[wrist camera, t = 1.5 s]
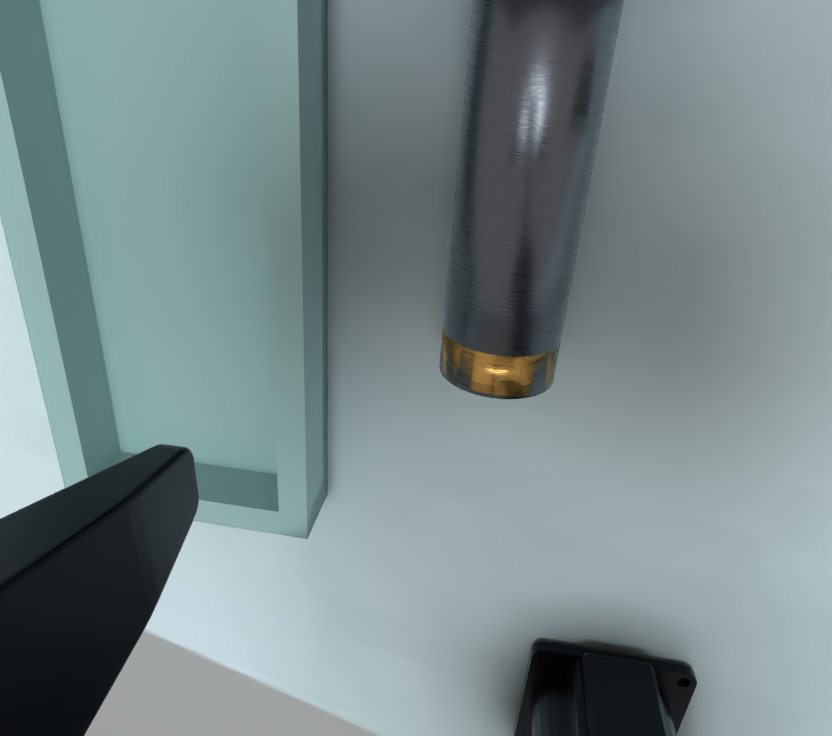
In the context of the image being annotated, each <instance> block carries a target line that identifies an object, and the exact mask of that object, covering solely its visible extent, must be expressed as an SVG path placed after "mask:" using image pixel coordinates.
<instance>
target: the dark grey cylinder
mask: <svg viewBox="0 0 832 736" xmlns="http://www.w3.org/2000/svg"><path fill="white" fill-rule="evenodd" d="M623 1H624V0H473V6H472V17H471V28H470V39H469V50H468V61H467V72H466V83H465V93H464V104H463V115H462V126H461V137H460V148H459V159H458V170H457V181H456V192H455V203H454V214H453V225H452V236H451V247H450V258H449V269H448V280H447V291H446V302H445V313H444V323H443V334H442V345H441V356H440V371H441V373H442V375H443V376H444V377H445V379H446V380H448V381H449V382H450V383H451V384H453V385H455V386H456V387H458V388H460V389H462V390H465V391H467V392H470V393H473V394H476V395H480V396H485V397H490V398H498V399H520V398H527V397H532V396H536V395H538V394H541V393H543V392H545V391H546V390H547V389H549V387H550V386H551V385H552V383H553V378H554V372H555V367H556V361H557V356H558V351H559V345H560V340H561V335H562V329H563V324H564V318H565V313H566V308H567V302H568V297H569V291H570V286H571V281H572V275H573V270H574V265H575V259H576V254H577V248H578V243H579V238H580V232H581V227H582V222H583V216H584V211H585V205H586V200H587V195H588V189H589V184H590V178H591V173H592V168H593V162H594V157H595V152H596V146H597V141H598V135H599V130H600V125H601V119H602V114H603V108H604V103H605V98H606V92H607V87H608V82H609V76H610V71H611V65H612V60H613V55H614V49H615V44H616V38H617V33H618V28H619V22H620V17H621V12H622V6H623Z"/></svg>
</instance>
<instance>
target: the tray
mask: <svg viewBox="0 0 832 736" xmlns="http://www.w3.org/2000/svg"><path fill="white" fill-rule="evenodd" d="M0 216H1V221H2V225H3V229H4V233H5V238H6V242H7V246H8V250H9V254H10V259H11V263H12V267H13V271H14V275H15V280H16V284H17V288H18V292H19V297H20V301H21V305H22V309H23V313H24V318H25V322H26V326H27V330H28V334H29V339H30V343H31V347H32V351H33V356H34V360H35V364H36V368H37V372H38V377H39V381H40V385H41V389H42V393H43V398H44V402H45V406H46V410H47V415H48V419H49V423H50V427H51V431H52V436H53V440H54V444H55V448H56V452H57V457H58V461H59V465H60V469H61V474H62V478H63V482H64V486H65V488H67V487H69V486H71V485H73V484H75V483H77V482H79V481H81V480H83V479H86V478H88V477H90V476H92V475H94V474H96V473H98V472H100V471H103V470H105V469H107V468H109V467H111V466H113V465H115V464H117V463H119V462H122V461H124V460H126V459H128V458H130V457H132V456H134V455H136V454H138V453H141V452H143V451H145V450H147V449H149V448H151V447H153V446H156V445H158V444H167V445H174V446H181V447H186V448H188V449H190V450H191V452H192V454H193V457H194V463H195V470H196V478H197V485H198V493H199V503H198V509H197V512H196V515H195V517H194V520H193V521H198V522H204V523H210V524H217V525H223V526H230V527H236V528H242V529H249V530H255V531H261V532H268V533H274V534H281V535H287V536H293V537H300V538H306V539H307V538H308V536H309V534H310V532H311V529H312V527H313V525H314V523H315V520H316V518H317V516H318V514H319V511H320V509H321V507H322V505H323V502H324V500H325V498H326V495H327V0H0Z"/></svg>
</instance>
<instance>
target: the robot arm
mask: <svg viewBox="0 0 832 736" xmlns="http://www.w3.org/2000/svg"><path fill="white" fill-rule="evenodd" d="M198 503H199V493H198V485H197V478H196V470H195V463H194V457H193V454H192V452H191V450H190V449H188V448H186V447H181V446H174V445H167V444H158V445H156V446H153V447H151V448H149V449H147V450H145V451H143V452H141V453H138V454H136V455H134V456H132V457H130V458H128V459H126V460H124V461H122V462H119V463H117V464H115V465H113V466H111V467H109V468H107V469H105V470H103V471H100V472H98V473H96V474H94V475H92V476H90V477H88V478H86V479H83V480H81V481H79V482H77V483H75V484H73V485H71V486H69V487H67V488H64V489H62V490H60V491H58V492H56V493H54V494H52V495H50V496H48V497H45V498H43V499H41V500H39V501H37V502H35V503H33V504H31V505H28V506H26V507H24V508H22V509H20V510H18V511H16V512H14V513H11V514H9V515H7V516H5V517H3V518H1V519H0V736H84V735H85V733H86V731H87V730H88V728H89V726H90V724H91V723H92V721H93V719H94V717H95V716H96V714H97V712H98V710H99V708H100V707H101V705H102V703H103V701H104V699H105V698H106V696H107V694H108V693H109V691H110V689H111V687H112V686H113V684H114V682H115V680H116V678H117V677H118V675H119V673H120V671H121V670H122V668H123V666H124V664H125V663H126V661H127V659H128V657H129V656H130V654H131V652H132V650H133V648H134V647H135V645H136V643H137V641H138V640H139V638H140V636H141V634H142V632H143V631H144V629H145V627H146V625H147V623H148V621H149V619H150V618H151V615H152V613H153V611H154V609H155V607H156V605H157V603H158V600H159V598H160V596H161V594H162V591H163V589H164V587H165V584H166V582H167V580H168V577H169V575H170V573H171V570H172V568H173V566H174V564H175V561H176V559H177V557H178V554H179V552H180V550H181V547H182V545H183V543H184V540H185V538H186V536H187V534H188V531H189V529H190V527H191V524H192V522H193V520H194V517H195V515H196V512H197V509H198ZM696 685H697V680H696V677H695V673H694V671H693V670H692V669H691V668H690V667H687V666H684V665H678V664H672V663H666V662H660V661H654V660H648V659H642V658H636V657H630V656H624V655H618V654H612V653H606V652H600V651H594V650H588V649H582V648H576V647H570V646H564V645H558V644H552V643H546V642H540V643H536V644H535V645H533V647H532V649H531V654H530V658H529V663H528V667H527V672H526V677H525V681H524V686H523V691H522V695H521V700H520V704H519V709H518V714H517V718H516V723H515V728H514V736H676V734H677V732H678V729H679V727H680V724H681V722H682V719H683V717H684V715H685V712H686V710H687V707H688V705H689V702H690V700H691V697H692V695H693V692H694V690H695V687H696Z"/></svg>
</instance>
